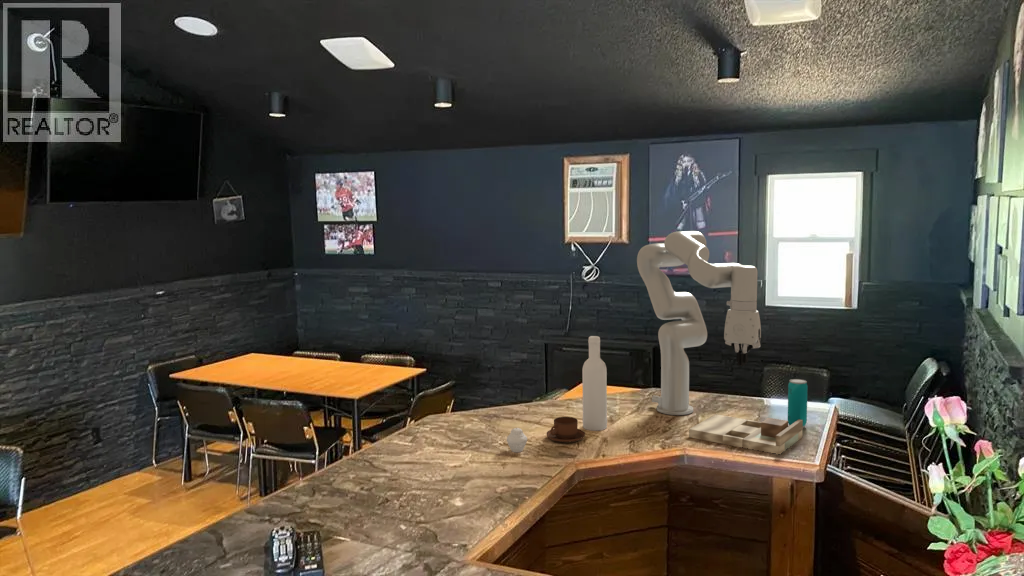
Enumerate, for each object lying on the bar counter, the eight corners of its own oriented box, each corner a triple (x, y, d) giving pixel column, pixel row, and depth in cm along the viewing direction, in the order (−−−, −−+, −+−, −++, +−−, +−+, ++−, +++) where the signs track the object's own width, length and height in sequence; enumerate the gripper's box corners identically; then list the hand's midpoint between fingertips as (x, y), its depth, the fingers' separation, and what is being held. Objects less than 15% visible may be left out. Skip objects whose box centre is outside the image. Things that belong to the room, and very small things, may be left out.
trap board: (688, 437, 223) (688, 419, 223) (715, 421, 239) (715, 405, 238) (779, 454, 206) (780, 436, 205) (802, 437, 221) (802, 419, 220)
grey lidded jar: (503, 452, 212) (503, 429, 211) (511, 446, 218) (510, 423, 217) (523, 455, 210) (523, 431, 209) (530, 448, 215) (530, 425, 215)
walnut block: (760, 435, 216) (761, 422, 216) (768, 430, 221) (768, 417, 220) (781, 438, 212) (781, 425, 212) (788, 433, 217) (788, 420, 216)
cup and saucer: (574, 448, 216) (573, 428, 215) (539, 441, 222) (539, 422, 221) (591, 437, 226) (591, 417, 225) (558, 431, 232) (558, 412, 231)
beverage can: (803, 423, 235) (804, 378, 233) (808, 429, 229) (810, 382, 228) (785, 423, 235) (786, 378, 234) (790, 428, 230) (791, 382, 228)
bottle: (610, 425, 237) (609, 335, 234) (602, 432, 230) (602, 339, 227) (587, 422, 240) (586, 334, 237) (579, 429, 233) (578, 338, 230)
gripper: (715, 305, 221) (713, 363, 223) (763, 309, 212) (761, 370, 214) (725, 302, 227) (723, 359, 229) (772, 306, 217) (770, 366, 220)
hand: (742, 364), depth 221 cm, fingers closed
